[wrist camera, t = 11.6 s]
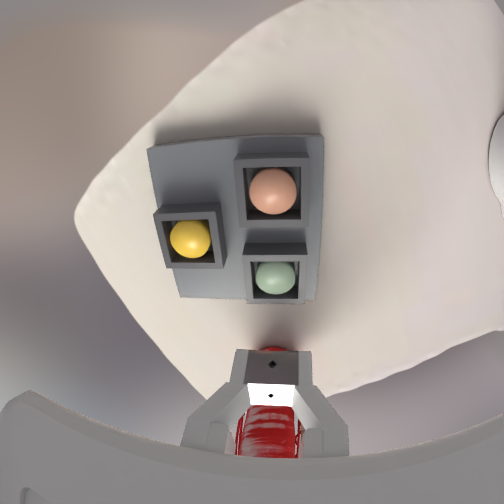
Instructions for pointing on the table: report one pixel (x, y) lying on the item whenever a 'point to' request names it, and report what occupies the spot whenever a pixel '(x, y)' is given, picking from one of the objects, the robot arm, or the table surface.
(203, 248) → the amber button
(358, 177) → the table surface
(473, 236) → the table surface
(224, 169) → the button panel
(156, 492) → the robot arm
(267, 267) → the sage button
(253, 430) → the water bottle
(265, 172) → the terracotta button
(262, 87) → the table surface
